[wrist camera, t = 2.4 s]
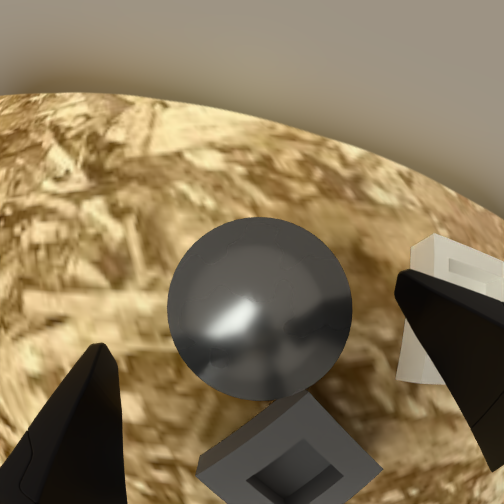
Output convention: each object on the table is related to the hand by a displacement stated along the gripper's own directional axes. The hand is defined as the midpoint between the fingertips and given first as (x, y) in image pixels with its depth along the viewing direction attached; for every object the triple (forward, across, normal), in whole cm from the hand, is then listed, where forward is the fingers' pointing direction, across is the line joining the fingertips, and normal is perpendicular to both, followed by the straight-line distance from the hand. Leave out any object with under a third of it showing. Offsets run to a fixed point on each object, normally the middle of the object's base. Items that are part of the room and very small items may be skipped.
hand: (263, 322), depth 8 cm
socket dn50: (+3, -14, +8) cm, 17 cm away
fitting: (+6, 0, +6) cm, 8 cm away
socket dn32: (0, 0, +12) cm, 12 cm away
